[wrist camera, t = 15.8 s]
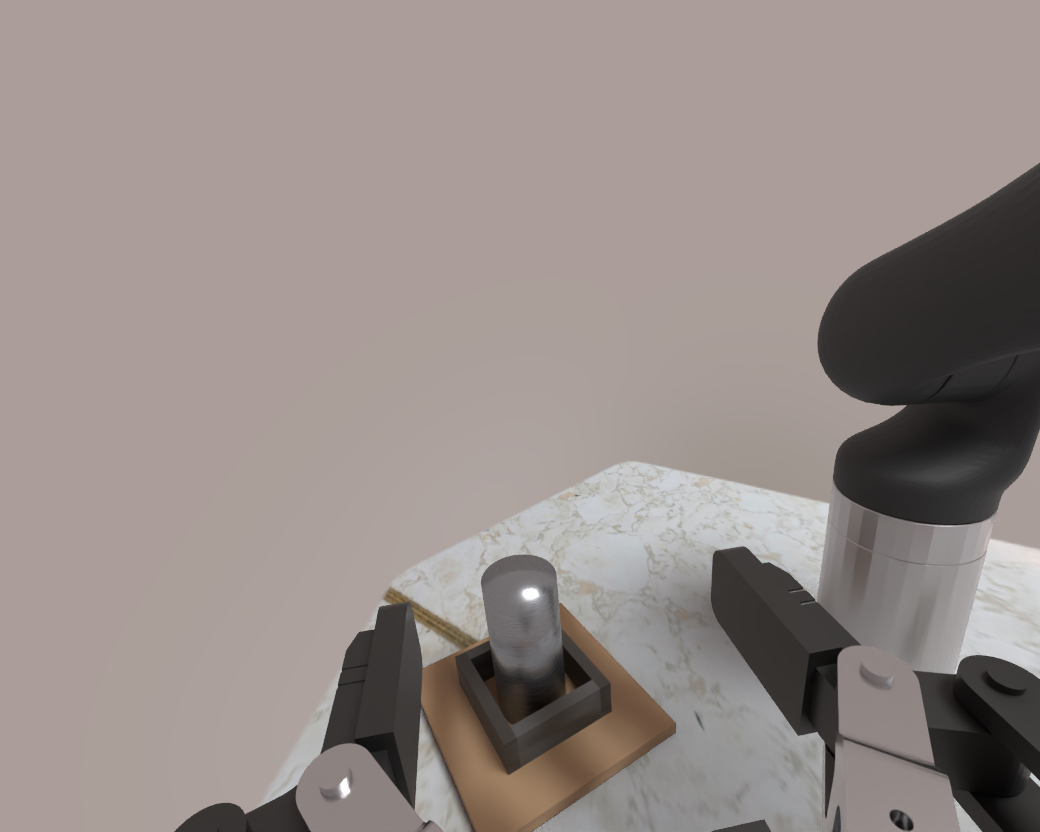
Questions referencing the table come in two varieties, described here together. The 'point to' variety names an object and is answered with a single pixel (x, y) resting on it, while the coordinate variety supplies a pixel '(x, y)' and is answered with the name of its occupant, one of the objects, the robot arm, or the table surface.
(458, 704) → the wooden board with frame
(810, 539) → the table surface
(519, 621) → the grey metal cylinder
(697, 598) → the table surface
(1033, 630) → the table surface
